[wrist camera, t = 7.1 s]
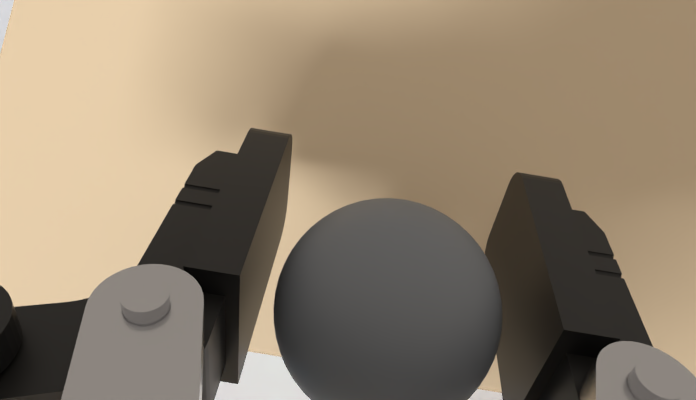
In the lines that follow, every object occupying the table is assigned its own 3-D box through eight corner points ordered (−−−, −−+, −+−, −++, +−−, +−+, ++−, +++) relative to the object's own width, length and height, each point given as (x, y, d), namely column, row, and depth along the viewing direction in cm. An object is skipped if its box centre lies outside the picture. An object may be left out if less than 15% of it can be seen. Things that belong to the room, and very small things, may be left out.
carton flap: (-46, 303, 12) (-432, 333, 6) (95, -250, 14) (-89, -654, 8) (756, 434, 12) (1179, 595, 6) (788, -134, 14) (1137, -447, 8)
